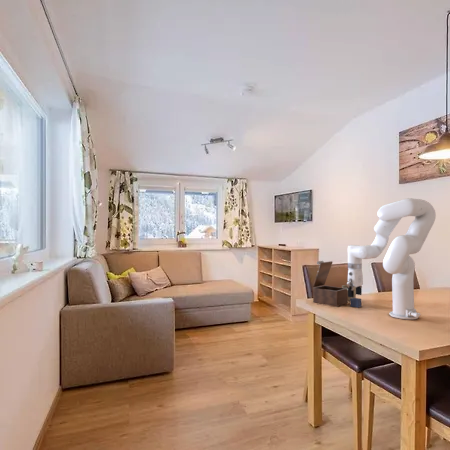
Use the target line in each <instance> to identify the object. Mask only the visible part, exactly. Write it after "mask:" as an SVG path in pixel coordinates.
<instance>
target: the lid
mask: <svg viewBox="0 0 450 450" xmlns="http://www.w3.org/2000/svg"><path fill="white" fill-rule="evenodd" d="M333 262H334V261H333V260H331V261H330V260H329V261H323V260H318V261H317V262H316V264H317V265H319V266H318V270H317V272H316V274H315V278H314V280H313V284H312V288H315V287H319V286H324V285H325V286H326V281H327V279H328V276H329V274H330V271H331V268H332V265H333Z"/></svg>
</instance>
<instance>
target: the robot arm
mask: <svg viewBox="0 0 450 450" xmlns="http://www.w3.org/2000/svg"><path fill="white" fill-rule="evenodd" d="M376 214H377V217H378V221H377V222H376V224H375V225H374V226H373V231H374V233H375V238H374V240H373V241H372V243H371V244H369V245H368V244H367V245H357V244H351V245H348V246H347V269H348V270H347V282H346V285H347V288H348V297H352V298H353V297H354V290H353V289H354V286H355V287H356V296H357V295H358V296H362V294H363V293H362V291H363V290H362V288H363V285H364V277H363V260H369V259H377V258H378V257H380V256H381V254H382V253H383V251H384V250H385V249H386V247H387V245H388V243H389V238H390V236H391V234H392V232H393V231H394V229H395V228H396V227H397V225H398V224H399V223H400V222H401V220H402V219H403V218H407V217H414V219H413V221H412V222H411V223H410V225H409V226H408V229H407V231H406V233H405V234H402V235H398V236H396V237H395V238H394V239H393V240H392V241H391V243H390V245H389V247H388V249H387V251H386V253H385V255H384V258H383V260H382V261H383V262H382V267H383V269H384V271H385V272H386V273H388V274H390V275H392V276H391V277H392V278H391V296H392V311H389V314H388V315H389V316H390V317H392V318H395V319H400V320H418V319H419V317H420V316H421V312H417V309H416V308H415V289H414V279H415V268H416V264H415V263H416V262H415V260H414V258H413V257H412V256H410V255H415V254H418V253H419V252H420V251H421V249H422V248H423V245H424V243H425V241H426V239H427V238H428V236H429V234H430V231H431V230H432V228H433V226H434V224H435V221H436V217H437V215H436V210H435V207H434V206H433V204H431V202H428V201H426V200H425V199H421V198H409V197H408V198H403V199H400V200H397V201H394V202H390V203H386V204H383V205H381V207H379V209H378V210H377V213H376ZM351 287H352V288H351Z"/></svg>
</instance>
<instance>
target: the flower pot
mask: <svg viewBox="0 0 450 450" xmlns="http://www.w3.org/2000/svg"><path fill="white" fill-rule="evenodd" d="M341 288H347V284H345V285H344V284H343V285H341ZM351 288H352V287H351ZM353 290H354V297H353V298H357V297H356V296H357V294H356V287H355V286H354V289H353ZM347 293H348V288H347ZM351 298H352V297H348V302H350V299H351Z"/></svg>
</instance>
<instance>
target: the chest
mask: <svg viewBox="0 0 450 450" xmlns="http://www.w3.org/2000/svg"><path fill="white" fill-rule="evenodd" d="M312 302H313V303H315V304H320V305H327V306H332V307H341V306H343V305H347V304H349V303H348V302H349V301H348V293H347V288H343V287H340V286H339V287H337V286H333V285H332V286H331V285H326V284H325V285H322V286H317V287H312Z"/></svg>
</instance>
